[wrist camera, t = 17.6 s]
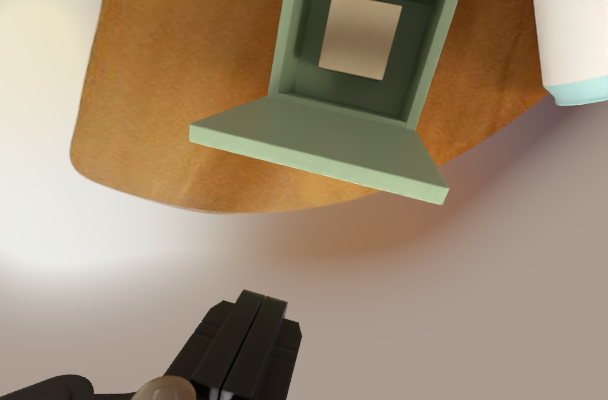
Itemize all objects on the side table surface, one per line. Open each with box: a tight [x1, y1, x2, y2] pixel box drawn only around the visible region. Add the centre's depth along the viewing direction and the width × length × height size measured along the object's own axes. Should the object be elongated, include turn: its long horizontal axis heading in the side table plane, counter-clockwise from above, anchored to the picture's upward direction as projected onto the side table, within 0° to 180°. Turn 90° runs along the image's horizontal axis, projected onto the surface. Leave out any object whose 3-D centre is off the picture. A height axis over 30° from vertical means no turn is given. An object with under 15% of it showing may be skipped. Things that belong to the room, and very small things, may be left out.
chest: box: [268, 0, 458, 131], centre depth 26 cm, size 11×12×7 cm
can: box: [533, 0, 608, 106], centre depth 23 cm, size 7×7×12 cm
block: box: [318, 0, 402, 82], centre depth 26 cm, size 5×5×5 cm
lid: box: [189, 96, 449, 205], centre depth 19 cm, size 12×12×1 cm
